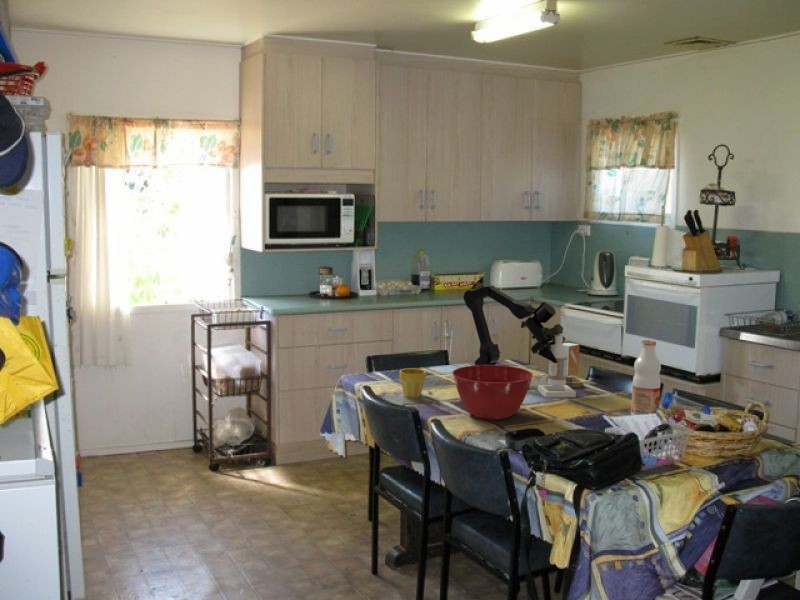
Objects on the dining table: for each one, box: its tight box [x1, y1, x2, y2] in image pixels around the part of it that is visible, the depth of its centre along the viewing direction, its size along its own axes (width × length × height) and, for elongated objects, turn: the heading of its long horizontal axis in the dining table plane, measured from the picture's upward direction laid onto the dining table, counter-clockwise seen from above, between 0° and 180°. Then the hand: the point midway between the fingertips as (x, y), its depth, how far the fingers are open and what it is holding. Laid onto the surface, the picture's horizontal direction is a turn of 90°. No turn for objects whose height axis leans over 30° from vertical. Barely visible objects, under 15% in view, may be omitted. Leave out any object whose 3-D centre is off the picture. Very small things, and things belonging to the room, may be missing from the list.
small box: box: [563, 342, 580, 376], centre depth 369 cm, size 8×6×13 cm
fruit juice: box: [630, 339, 662, 416], centre depth 294 cm, size 9×9×28 cm
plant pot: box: [399, 367, 427, 399], centre depth 323 cm, size 10×10×10 cm
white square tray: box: [537, 384, 577, 398], centre depth 331 cm, size 12×12×2 cm
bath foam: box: [547, 334, 567, 386], centre depth 329 cm, size 7×7×20 cm
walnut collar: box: [546, 375, 584, 389], centre depth 347 cm, size 12×12×2 cm
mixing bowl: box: [452, 364, 534, 421], centre depth 296 cm, size 28×28×15 cm
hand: (560, 361), depth 329 cm, fingers closed on bath foam, 7 cm apart
